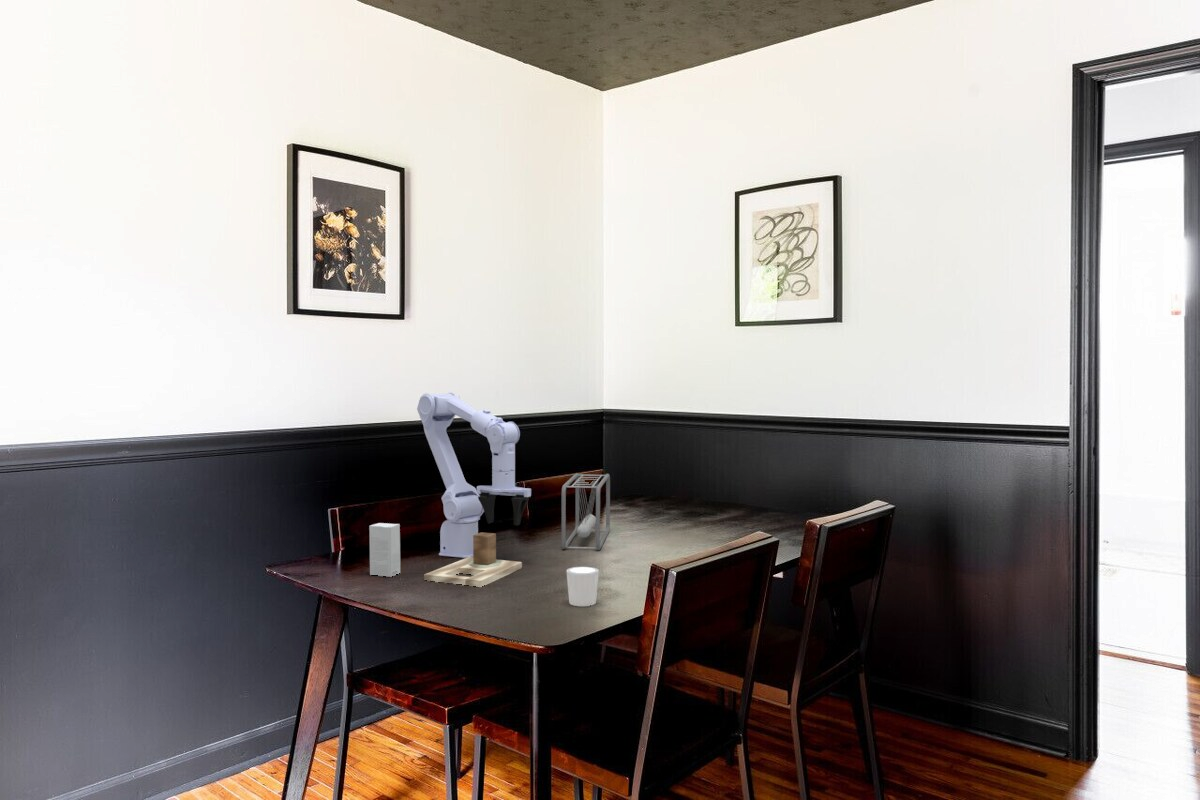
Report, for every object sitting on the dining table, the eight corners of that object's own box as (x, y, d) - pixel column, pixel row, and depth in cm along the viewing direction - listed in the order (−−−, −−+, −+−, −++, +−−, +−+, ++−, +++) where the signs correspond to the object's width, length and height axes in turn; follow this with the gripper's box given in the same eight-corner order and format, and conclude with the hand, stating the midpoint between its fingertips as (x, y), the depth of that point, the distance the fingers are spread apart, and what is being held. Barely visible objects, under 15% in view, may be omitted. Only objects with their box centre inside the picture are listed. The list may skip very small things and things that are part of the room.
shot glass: (565, 598, 182) (565, 566, 182) (597, 598, 183) (597, 565, 183) (567, 607, 175) (567, 574, 175) (600, 606, 176) (600, 573, 176)
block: (473, 563, 207) (473, 535, 206) (481, 560, 210) (481, 532, 210) (487, 565, 205) (487, 536, 205) (495, 562, 209) (495, 533, 209)
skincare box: (401, 573, 204) (400, 523, 203) (391, 577, 200) (390, 527, 199) (379, 571, 206) (378, 522, 205) (368, 575, 202) (368, 525, 201)
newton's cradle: (575, 530, 259) (575, 472, 259) (609, 531, 258) (610, 472, 258) (561, 551, 230) (561, 485, 229) (599, 552, 229) (599, 486, 228)
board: (424, 580, 197) (424, 573, 197) (469, 562, 215) (469, 556, 215) (480, 587, 191) (480, 579, 191) (521, 568, 210) (521, 561, 210)
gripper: (470, 470, 214) (470, 524, 214) (521, 473, 208) (521, 528, 209) (484, 467, 220) (484, 519, 221) (534, 470, 215) (534, 523, 215)
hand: (503, 523), depth 215 cm, fingers open, 7 cm apart
